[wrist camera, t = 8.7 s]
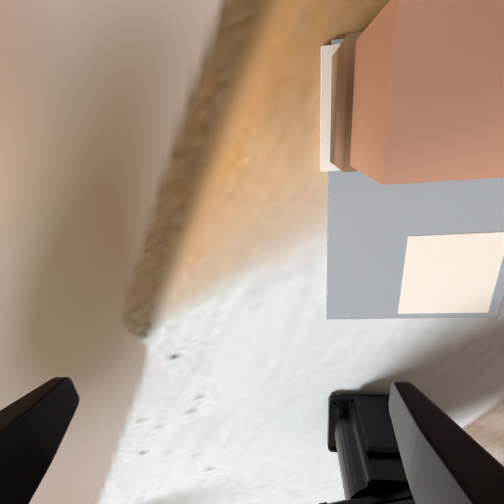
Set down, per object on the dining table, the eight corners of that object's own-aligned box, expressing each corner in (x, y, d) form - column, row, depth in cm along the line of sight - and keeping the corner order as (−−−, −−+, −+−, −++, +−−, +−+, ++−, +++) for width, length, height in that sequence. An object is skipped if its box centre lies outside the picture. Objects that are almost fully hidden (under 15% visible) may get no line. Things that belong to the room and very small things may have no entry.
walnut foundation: (424, 154, 16) (467, 163, 12) (330, 161, 16) (343, 172, 13) (440, 43, 14) (497, 14, 10) (331, 57, 14) (348, 33, 11)
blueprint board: (493, 313, 20) (498, 317, 19) (319, 315, 21) (319, 319, 21) (579, 10, 13) (589, 6, 13) (320, 43, 15) (321, 41, 14)
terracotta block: (462, 157, 12) (556, 174, 8) (349, 165, 13) (382, 185, 8) (488, 24, 10) (625, -44, 6) (355, 40, 11) (400, -13, 7)
